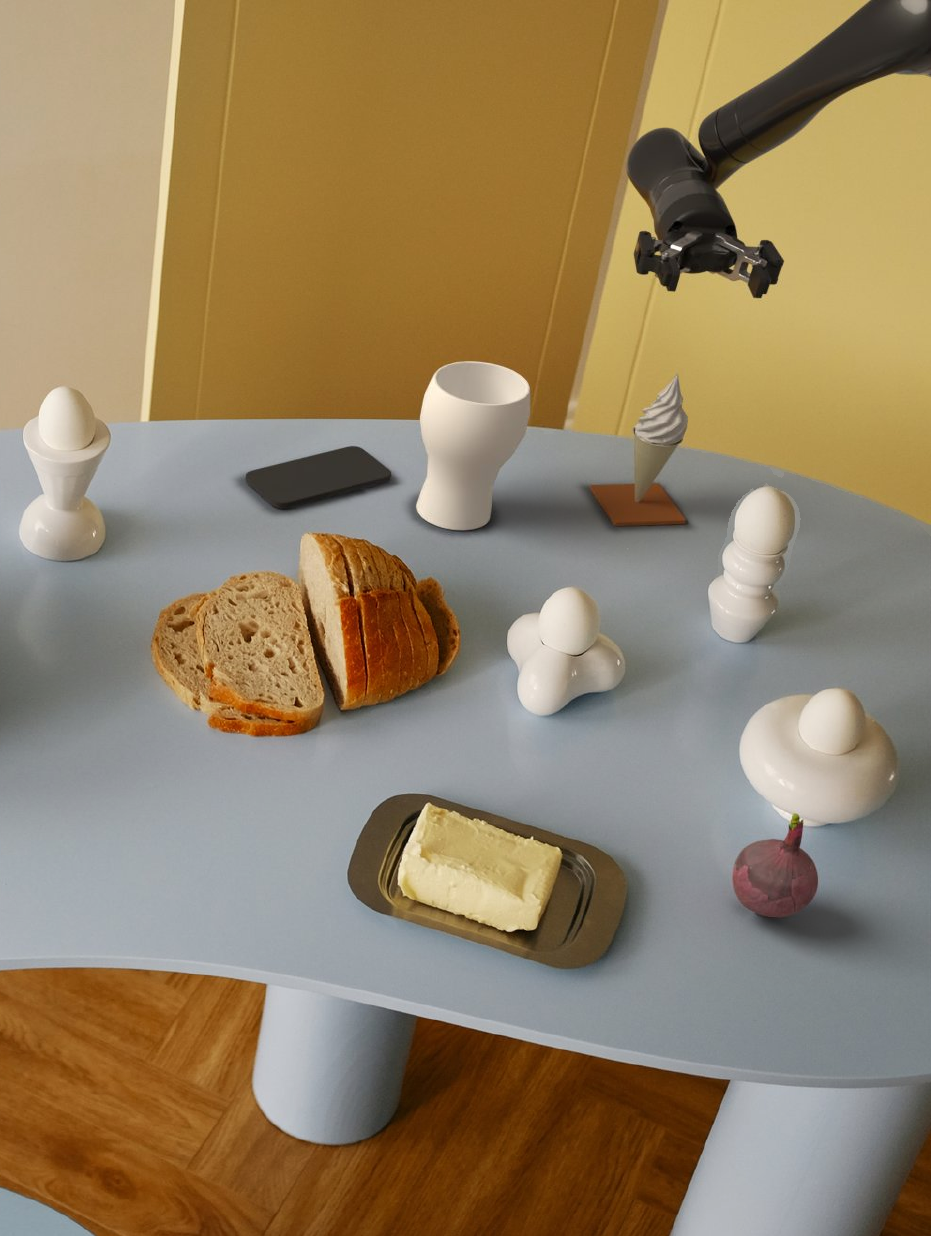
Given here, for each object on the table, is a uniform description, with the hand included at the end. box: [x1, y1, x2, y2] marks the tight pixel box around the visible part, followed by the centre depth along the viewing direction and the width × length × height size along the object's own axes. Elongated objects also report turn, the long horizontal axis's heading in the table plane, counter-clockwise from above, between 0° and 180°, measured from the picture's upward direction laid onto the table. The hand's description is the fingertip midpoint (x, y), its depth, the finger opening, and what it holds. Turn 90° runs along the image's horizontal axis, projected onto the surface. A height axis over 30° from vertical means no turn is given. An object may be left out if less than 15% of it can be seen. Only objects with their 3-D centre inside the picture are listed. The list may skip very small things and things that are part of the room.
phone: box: [245, 445, 392, 509], centre depth 179 cm, size 7×1×15 cm
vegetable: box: [731, 812, 819, 918], centre depth 126 cm, size 6×6×10 cm
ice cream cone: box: [632, 373, 689, 503], centre depth 171 cm, size 5×5×15 cm
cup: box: [415, 360, 531, 531], centre depth 170 cm, size 11×11×15 cm
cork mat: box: [589, 482, 687, 527], centre depth 176 cm, size 8×8×1 cm
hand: (717, 286), depth 169 cm, fingers open, 8 cm apart
